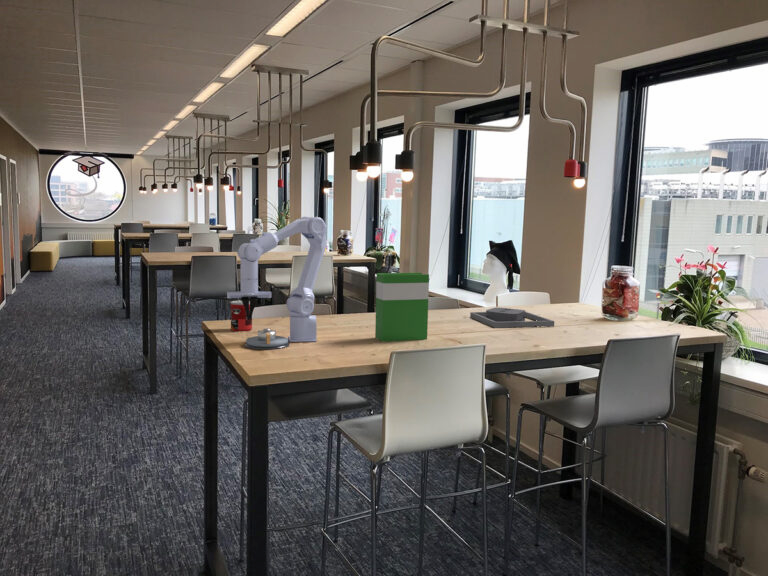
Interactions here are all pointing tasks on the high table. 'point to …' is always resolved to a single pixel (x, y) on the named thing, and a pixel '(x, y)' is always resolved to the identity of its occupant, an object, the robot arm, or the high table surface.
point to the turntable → (267, 341)
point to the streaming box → (505, 314)
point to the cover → (263, 334)
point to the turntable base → (266, 347)
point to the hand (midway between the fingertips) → (249, 319)
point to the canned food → (239, 317)
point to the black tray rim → (540, 322)
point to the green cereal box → (401, 306)
